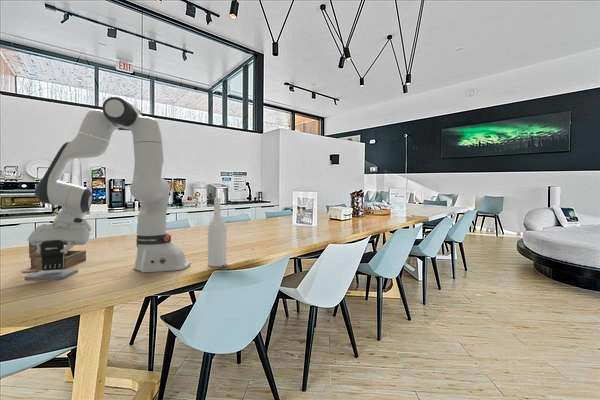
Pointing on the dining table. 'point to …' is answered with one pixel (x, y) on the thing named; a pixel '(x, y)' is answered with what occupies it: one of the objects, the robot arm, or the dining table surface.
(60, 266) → the battery charger
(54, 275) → the mat
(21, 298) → the dining table surface
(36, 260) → the wooden box
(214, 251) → the bottle
